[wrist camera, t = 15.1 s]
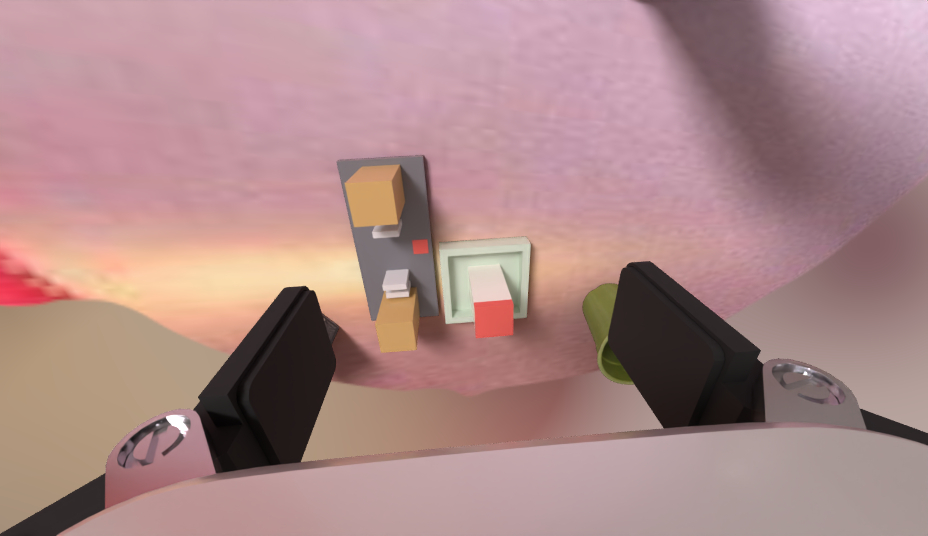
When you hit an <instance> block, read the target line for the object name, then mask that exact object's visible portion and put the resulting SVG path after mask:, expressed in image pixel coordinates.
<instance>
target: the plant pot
mask: <svg viewBox="0 0 928 536" xmlns="http://www.w3.org/2000/svg"><path fill="white" fill-rule="evenodd" d="M617 289H618V285H617V284H603V285H600V286H599V287H598V288H596V289H595V290H593V291H591V292H590V293H589V294H588V295H587V296H586V298H585V299H584V302H583V313H584V316H585V318H586V321H587V323H588V326H589V329H590V331H591V334H592V336H593V339H594V341H595V344H596V350H597V353H598V356H597V362H598V366H599V369H600V371H601V372H602V373H603V375H604V376H605V377H607V378H608V379H610V380H611V381H613V382H616V383H620V384H628V385H633V384H634V383H633V381H632V380H631V378H630V377H629V375H628V374H627V372H626V371H625V369H624V368H623V366H622V365H621V363H620V362H619V360H618V359H617V357H616V356H615V354H614V353H613V351H612V350H611V348H610V346H609V343H608V333H609V328H610V323H611V318H612V313H613V308H614V304H615V299H616V294H617Z"/></svg>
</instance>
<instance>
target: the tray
mask: <svg viewBox="0 0 928 536" xmlns="http://www.w3.org/2000/svg"><path fill="white" fill-rule="evenodd" d="M530 247H531V243H530V242H529V240H528V238H527V237H526V236H524V237H509V238H495V239H480V240H466V241H451V242H439V253H440V264H441V275H442V287H443V298H444V309H445V320H446V324H451V323H464V322H474V321H473V314H472V307H471V301H470V294H469V278H468V267H470V266H482V265H494V264H500V267H501V270H502V272H503V275H504V278H505V281H506V284H507V287H508V290H509V292H510V295H511V298H512V301H513V304H514V309H513V319H516V318H527V302H528V283H529V265H530Z"/></svg>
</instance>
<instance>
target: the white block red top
mask: <svg viewBox="0 0 928 536" xmlns="http://www.w3.org/2000/svg"><path fill="white" fill-rule="evenodd" d="M468 278H469V294H470V301H471V307H472V314H473V321H474V327H475V334H476V338H484V337H495V336H506V335H513V309H514V304H513V301H512V298H511V295H510V292H509V290H508V287H507V284H506V281H505V278H504V275H503V272H502V270H501V267H500V264H494V265H482V266H470V267H468Z"/></svg>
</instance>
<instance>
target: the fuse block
mask: <svg viewBox="0 0 928 536" xmlns="http://www.w3.org/2000/svg"><path fill="white" fill-rule="evenodd" d="M337 165H338V170H339V175H340V179H341V184H342V188H343V193H344V197H345V202H346V206H347V211H348V215H349V220H350V224H351V229H352V233H353V238H354V243H355V247H356V252H357V256H358V261H359V265H360V270H361V274H362V279H363V283H364V288H365V292H366V297H367V302H368V306H369V311H370V315H371V320H372V321H375V320H376V323H375V327H376V331H377V336H378V340H379V345H380V350H381V353H384V352H397V351H409V350H417V340H418V329H419V317H427V316H439V309H438V299H437V289H436V279H435V269H434V259H433V249H432V239H431V229H430V219H429V209H428V199H427V189H426V179H425V169H424V158H423V155H415V156H398V157H381V158H364V159H347V160H338V161H337Z"/></svg>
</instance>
